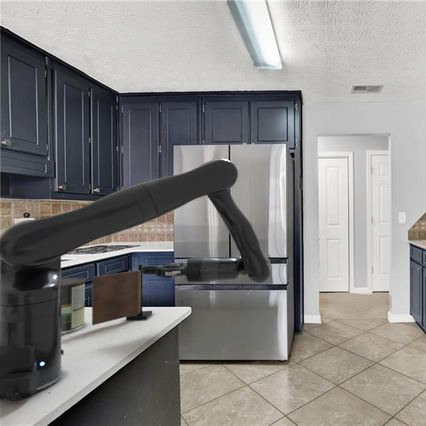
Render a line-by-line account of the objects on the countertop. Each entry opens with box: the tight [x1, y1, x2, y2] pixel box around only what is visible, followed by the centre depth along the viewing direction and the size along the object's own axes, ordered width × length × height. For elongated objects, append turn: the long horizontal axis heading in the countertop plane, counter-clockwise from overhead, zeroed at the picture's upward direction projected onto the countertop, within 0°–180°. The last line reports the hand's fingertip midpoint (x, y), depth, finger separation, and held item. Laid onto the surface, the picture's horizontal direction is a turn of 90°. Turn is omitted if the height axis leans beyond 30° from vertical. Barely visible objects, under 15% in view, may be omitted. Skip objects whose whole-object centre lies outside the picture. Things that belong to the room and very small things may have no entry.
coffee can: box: [61, 277, 86, 335], centre depth 88 cm, size 10×10×14 cm
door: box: [91, 269, 141, 326], centre depth 93 cm, size 13×1×14 cm, turn 143°
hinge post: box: [125, 264, 153, 321], centre depth 98 cm, size 5×6×17 cm
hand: (143, 270), depth 89 cm, fingers closed
